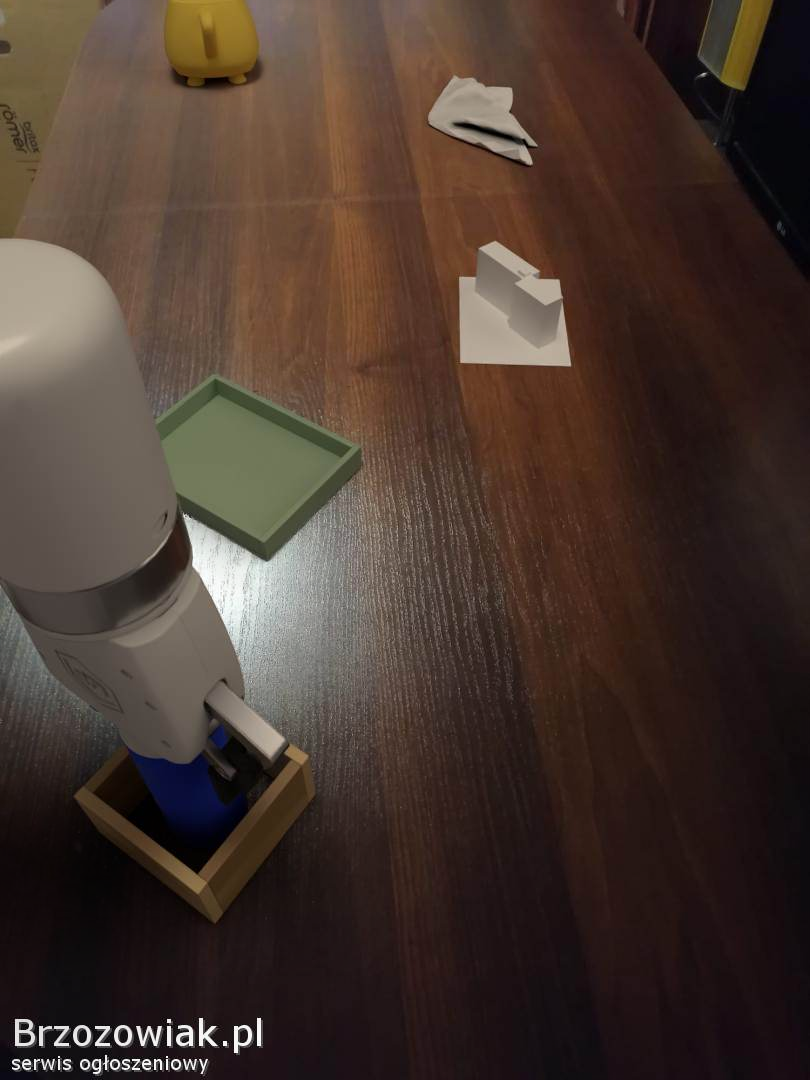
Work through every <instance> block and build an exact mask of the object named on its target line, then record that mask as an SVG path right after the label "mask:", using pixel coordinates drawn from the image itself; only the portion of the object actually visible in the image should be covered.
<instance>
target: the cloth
mask: <svg viewBox="0 0 810 1080" xmlns="http://www.w3.org/2000/svg"><path fill="white" fill-rule="evenodd" d="M513 99H514V94H513V88H512V87H505V86H485V85H484V84H483V83H481V82H478V81H477V79H476V78H474V77H466V78H460V77H459V76H457V75H455V74H454V75H453V76H452V78H451V79H450V81H449V82H448V84H447V85H446V86H445V87H444V88H443V90H442V92H441V93H440V95H439V96H438V98H437V99H436V101H435V102H434V104H433V106H432V107H431V109H430V111H429V113H428V114H427V119H428V124H429V125H430V126H432V127H433V128H434V129H437V130H439V131H441V132H443V133H445V134H447V135H449V136H451V137H453V138H457V139H458V140H461V141H464V142H466V143H470V144H472V145H474V146H478V147H481V148H484V149H486V150H489V151H491V152H494V153H496V154H499V155H501V156H504V157H506V158H509V159H511V160H514V161H516V162H519V163H521V164H524V165H527V166H529V167H530V166H533V164H534V163H533V160H532V157H531V155H530V152H529V150H528V148H527V146H526V144H527V145H528V146H529V147H537V148H538V147H539V145H538V144H537V143H536V142H535V141H534V140H533V139H532V138H531V136H530V135H529V134H528V133H527V132H526V130H525V129H524V128H523V127H522V126H521V124H520V122H519V121H518V120H517V119H516V116H514V115H513V114H512V113H510V110H512V106H513ZM523 140H524V141H525V143H526V144H525V143H524V141H523Z"/></svg>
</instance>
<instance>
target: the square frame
mask: <svg viewBox="0 0 810 1080" xmlns="http://www.w3.org/2000/svg"><path fill="white" fill-rule="evenodd" d="M223 728H224V727H223ZM224 731H225V734H226V737H227V740H228V741H229V740H230V739H231V737H232V736H233V735H232V734H231V733H229V732H228V731H227V730H226V729H225V728H224ZM289 744H290V747H289V748H288V749H287V750H286V751H285V753H284V754H283V755H282V756H281V757H280V759H279V760H278V761H277V762H276V763H275V765H274V766H273V767H271V768H269V769H267V770H263V773H265V774H267V775H268V776H269V777H271V778H272V779H273V781H272V782H271V784H270V785H269V786H268V787H267V789H266V790H265V791H264V792H263V793H262V795H261V796H260V797H259V798H258V799H257V801H256V802H255V803H254V804H253V806H252V807H250V810H249V811H247V812H246V816H245V817H244V818H243V819H242V821H241V822H240V823H239V824H238V825H237V827H236V828H235V829H234V830H233V832H232V833H231V834H230V835H229V836H228V838H227V839H226V840H225V841H224V843H222V844H220V846H219V847H218V848H217V850H216V851H215V852H214V853H213V855H212V856H211V857H210V858H209V860H208V861H207V862H206V863H205V865H203V867H202V868H201V869H200V871H199V872H198V873H196V872H195V871H193V869H191V868H190V867H188V866H187V865H186V864H185V863H183V862H182V861H181V860H180V859H178V858H177V857H175V856H174V855H173V854H172V853H170V852H169V851H167V850H166V849H165V848H164V847H162V846H161V845H160V844H159V843H158V842H156V841H155V840H153V839H152V838H151V836H148V835H147V834H146V833H144V832H143V830H140V828H138V827H137V826H136V825H134V824H133V823H132V822H130V821H129V820H128V819H127V818H128V817H129V816H130V815H131V814H132V813H133V812H134V811H135V809H136V808H137V807H138V806H140V804H141V803H142V802H143V800H145V799H146V797H147V796H148V795H149V794H150V793H151V792H150V790H149V788H148V786H147V784H146V782H145V781H144V779H143V777H142V775H141V773H140V771H139V770H138V768H137V766H136V764H135V762H134V760H133V759H132V757H131V755H130V753H129V751H128V749H127V748H126V746H125V744H124V743H123V744H122V745H121V746H120V747H119V749H118V750H116V752H114V754H113V755H112V756H111V757H110V758H108V760H106V762H105V763H104V764H103V765H102V766H101V767H100V768H99V769H98V770H97V771H96V773H94V774H93V776H91V777H90V778H89V780H88V781H87V782H86V783H84V785H82V787H81V788H80V789H79V790H78V791H77V792H76V793H75V794H74V795H73V797H74V799H75V800H76V802H77V803H78V805H79V806H80V807H81V809H82V810H83V812H84V813H85V814H86V815H87V817H88V818H89V820H90V821H91V822H92V824H93V825H94V826H95V828H96V829H97V831H98V833H100V834H101V835H102V836H103V837H105V838H106V839H107V840H109V841H110V842H111V843H112V844H113V845H115V846H116V847H117V848H118V849H120V850H121V851H123V852H124V853H125V854H126V855H127V856H129V857H130V858H131V859H132V860H134V861H135V862H136V863H137V864H139V865H140V866H141V867H142V868H144V869H145V870H146V871H148V872H149V874H152V875H153V876H154V877H155V878H156V879H157V880H158V881H160V882H161V883H163V884H164V885H165V886H166V887H167V888H169V889H170V890H171V891H173V892H174V893H175V894H176V895H177V896H179V897H180V898H181V899H183V900H184V901H185V902H186V903H188V904H189V905H190V906H192V908H194V909H195V910H197V911H198V912H199V913H200V914H201V915H203V916H204V917H205V918H207V920H209V921H210V922H212V923H213V924H214V925H215V924H216V923H217V922H218V921H219V920H220V918H221V917H222V916H223V914H224V913H225V912H226V911H227V909H228V908H229V907H230V905H232V903H233V902H234V900H235V899H236V898H237V897H238V895H239V894H240V893H241V891H242V890H243V889H244V887H246V885H247V883H248V882H249V881H250V880H251V878H252V877H253V876H254V874H255V873H256V872H257V871H258V870H259V868H260V867H261V865H262V864H263V863H264V862H265V860H266V859H267V858H268V856H269V855H270V854H271V853H272V851H273V850H274V849H275V847H276V846H277V845H278V844H279V843H280V841H281V840H282V838H283V837H284V836H285V835H286V833H287V832H288V831H289V830H290V828H291V827H292V825H293V824H294V823H295V821H296V820H298V817H299V816H300V815H301V814H302V812H303V811H304V810H305V809H306V808H307V806H308V805H309V803H310V802H311V801H312V800H313V798H314V797H315V796H316V788H315V782H314V777H313V772H312V771H313V770H312V765H311V759H310V756H309V754H307V753H306V752H304V751H303V750H302V749H300V748H298V747H297V746H295V745H293V743H291V742H289Z"/></svg>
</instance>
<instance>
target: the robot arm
mask: <svg viewBox="0 0 810 1080" xmlns="http://www.w3.org/2000/svg"><path fill="white" fill-rule="evenodd" d="M155 420H156V419H155V416H154V413H153V409H152V407H151V403H150V400H149V397H148V392H147V390H146V386H145V383H144V379H143V376H142V372H141V369H140V366H139V362H138V360H137V356H136V353H135V349H134V345H133V343H132V340H131V337H130V332H129V329H128V326H127V323H126V320H125V317H124V314H123V311H122V308H121V306H120V303H119V299H118V298H117V296H116V294H115V293H114V291H113V289H112V287H111V286H110V284H109V283H108V281H107V279H106V278H105V277H104V276H103V274H102V273H101V272H100V271H99V270H98V269H97V268H96V267H95V266H94V265H93V264H92V263H91V262H90V261H88V260H86V259H85V258H83V257H82V256H80V255H79V254H77V253H75V252H74V251H72V250H69V249H68V248H65V247H63V246H60V245H57V244H52V243H50V242H49V243H48V242H44V241H39V240H35V239H29V238H6V237H5V238H4V237H3V238H0V587H1V589H2V590H3V592H4V593H5V595H6V597H7V598H8V600H9V601H10V604H11V605H12V607H13V609H14V611H15V612H16V613H17V615H18V616H19V619H20V621H21V622H22V624H23V626H24V628H25V630H26V631H27V634H28V636H29V638H30V640H31V642H32V644H33V645H34V648H35V650H36V651H37V654H38V655H39V657H40V659H41V661H42V663H43V664H44V666H45V667H46V669H47V670H48V672H49V673H50V674H51V675H52V676H53V677H54V678H55V680H57V682H59V683H60V684H61V685H62V686H64V687H65V688H66V689H67V690H69V691H70V692H71V693H72V694H74V695H75V696H77V698H79V699H81V700H82V701H83V702H84V703H86V704H87V705H88V706H89V708H91V709H92V710H94V711H95V712H96V713H100V714H101V715H102V716H103V717H105V718H106V719H107V720H109V721H110V722H112V723H113V724H114V725H115V726H117V727H118V726H119V727H120V728H121V729H123V730H124V731H126V732H127V733H128V734H130V735H131V736H133V737H134V738H135V739H137V740H138V741H140V742H141V743H142V744H144V745H145V746H147V747H148V748H150V749H151V750H152V751H154V752H155V753H157V754H158V755H160V756H161V757H163V758H165V759H166V760H168V761H171V762H173V763H177V764H187V763H190V762H191V761H193V760H194V759H195V758H196V757H197V756H198V755H199V754H201V755H202V756H203V757H204V758H205V759H206V760H207V761H208V762H209V763H210V765H209V767H208V769H207V773H208V775H209V778H210V780H211V783H212V785H213V788H214V790H215V792H216V795H217V797H218V800H219V801H220V802H221V803H223V804H224V805H226V806H229V805H230V804H231V803H232V802H233V801H234V800H235V798H236V797H237V796H238V795H239V794H240V792H242V793H243V794H246V795H248V794H249V793H250V792H251V791H252V790H253V789H254V787H256V785H257V784H258V783H259V781H260V780H261V778H262V776H263V774H264V771H263V770H267V769H269V768H271V767H273V766H274V765H275V763H276V762H277V761H278V760H279V759H280V757H281V756H282V755H283V754H284V753H285V751H286V750H287V749H288V748H289V747H290V744H289V743H290V742H289V741H288V739H287V738H286V737H285V736H283V735H282V734H281V732H279V731H278V730H277V729H276V728H274V726H272V725H271V724H270V723H269V722H268V721H267V720H266V718H264V717H263V716H262V715H260V714H259V713H258V712H257V711H256V710H255V709H254V708H252V706H251V705H250V704H249V703H247V702H246V701H245V700H246V685H245V678H244V675H243V670H242V667H241V664H240V660H239V657H238V655H237V652H236V649H235V647H234V644H233V642H232V639H231V636H230V634H229V631H228V629H227V627H226V624H225V623H224V620H223V618H222V616H221V613H220V612H219V609H218V607H217V604H216V603H215V601H214V599H213V598H212V595H211V593H210V591H209V590H208V587H207V586H206V584H205V582H204V581H203V579H202V577H201V575H200V574H199V572H198V570H196V568H195V567H194V566H193V561H194V552H193V544H192V542H191V538H190V534H189V529H188V527H187V524H186V520H185V517H184V512H182V510H181V506H180V503H179V500H178V496H177V493H176V491H175V487H174V483H173V480H172V477H171V473H170V470H169V466H168V463H167V460H166V456H165V453H164V450H163V446H162V443H161V440H160V436H159V433H158V430H157V426H156V423H155ZM221 725H222V726H223V727H224V728H225V729H226V730H227V731H228V732H229V733H231V734H232V735H233V736H232V737H231V739H230V740H229V741H228V742H227V743H226V744H225V745H224V747H223V748H222V749H221V750H220V749H219V748H218V747H217V746H216V745H215V744H214V743H213V742H212V740H211V739H209V738H210V737H211V736H212V735H213V734H214V733H215V731H216V730H217V729H218V728H219V727H220V726H221Z"/></svg>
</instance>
